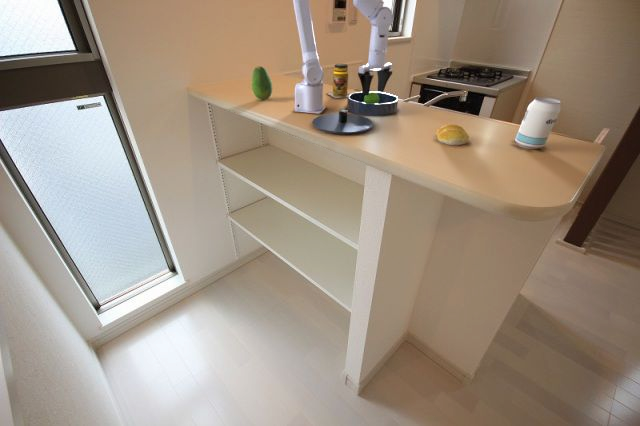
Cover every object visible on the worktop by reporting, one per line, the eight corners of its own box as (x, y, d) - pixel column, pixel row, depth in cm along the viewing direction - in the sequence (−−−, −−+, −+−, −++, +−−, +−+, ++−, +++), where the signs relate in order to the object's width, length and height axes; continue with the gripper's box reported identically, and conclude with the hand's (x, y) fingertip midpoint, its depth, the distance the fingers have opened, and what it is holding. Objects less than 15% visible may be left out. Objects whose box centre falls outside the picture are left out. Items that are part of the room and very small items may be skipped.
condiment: (335, 98, 122) (337, 66, 115) (327, 93, 128) (328, 62, 121) (351, 97, 124) (353, 65, 117) (342, 92, 131) (344, 62, 124)
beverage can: (535, 152, 77) (557, 105, 70) (508, 144, 82) (526, 99, 75) (547, 147, 81) (568, 101, 74) (520, 139, 85) (538, 95, 78)
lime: (368, 110, 107) (367, 94, 104) (361, 107, 111) (360, 92, 108) (382, 107, 108) (381, 91, 105) (374, 104, 112) (374, 89, 109)
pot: (342, 113, 105) (342, 101, 102) (352, 100, 119) (353, 90, 117) (394, 118, 101) (396, 105, 98) (398, 104, 115) (399, 93, 113)
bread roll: (438, 145, 81) (442, 130, 79) (434, 134, 88) (437, 120, 86) (470, 147, 80) (475, 133, 77) (463, 136, 87) (467, 122, 85)
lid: (301, 128, 91) (300, 113, 88) (329, 113, 104) (330, 100, 102) (358, 140, 83) (359, 124, 81) (381, 122, 97) (382, 108, 94)
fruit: (252, 97, 121) (248, 65, 114) (271, 96, 123) (269, 64, 116) (254, 102, 115) (250, 68, 108) (274, 101, 116) (272, 67, 110)
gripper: (383, 48, 105) (378, 88, 113) (353, 50, 98) (350, 93, 106) (399, 50, 101) (393, 92, 109) (369, 52, 93) (364, 97, 101)
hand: (373, 93), depth 107 cm, fingers open, 7 cm apart
